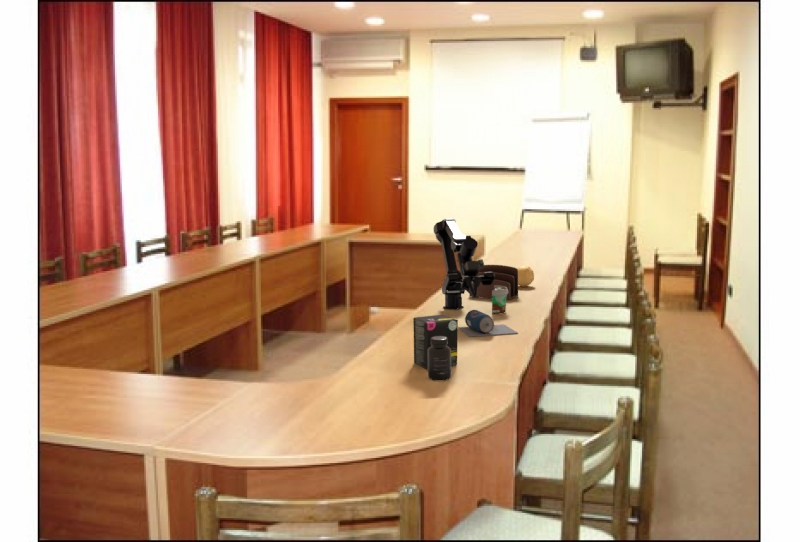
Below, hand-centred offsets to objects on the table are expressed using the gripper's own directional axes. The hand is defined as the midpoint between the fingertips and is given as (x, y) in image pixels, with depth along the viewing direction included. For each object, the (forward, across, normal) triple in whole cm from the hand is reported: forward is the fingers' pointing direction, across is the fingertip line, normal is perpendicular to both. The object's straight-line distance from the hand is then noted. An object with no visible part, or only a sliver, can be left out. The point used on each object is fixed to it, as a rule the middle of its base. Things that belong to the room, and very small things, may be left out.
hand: (474, 297), depth 292 cm
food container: (-4, +16, +18) cm, 25 cm away
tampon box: (+43, -30, -30) cm, 61 cm away
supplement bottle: (+53, -33, -41) cm, 74 cm away
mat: (+17, 0, -4) cm, 18 cm away
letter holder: (-26, +25, +42) cm, 55 cm away
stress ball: (-40, +47, +56) cm, 83 cm away
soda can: (+10, -4, -2) cm, 11 cm away
